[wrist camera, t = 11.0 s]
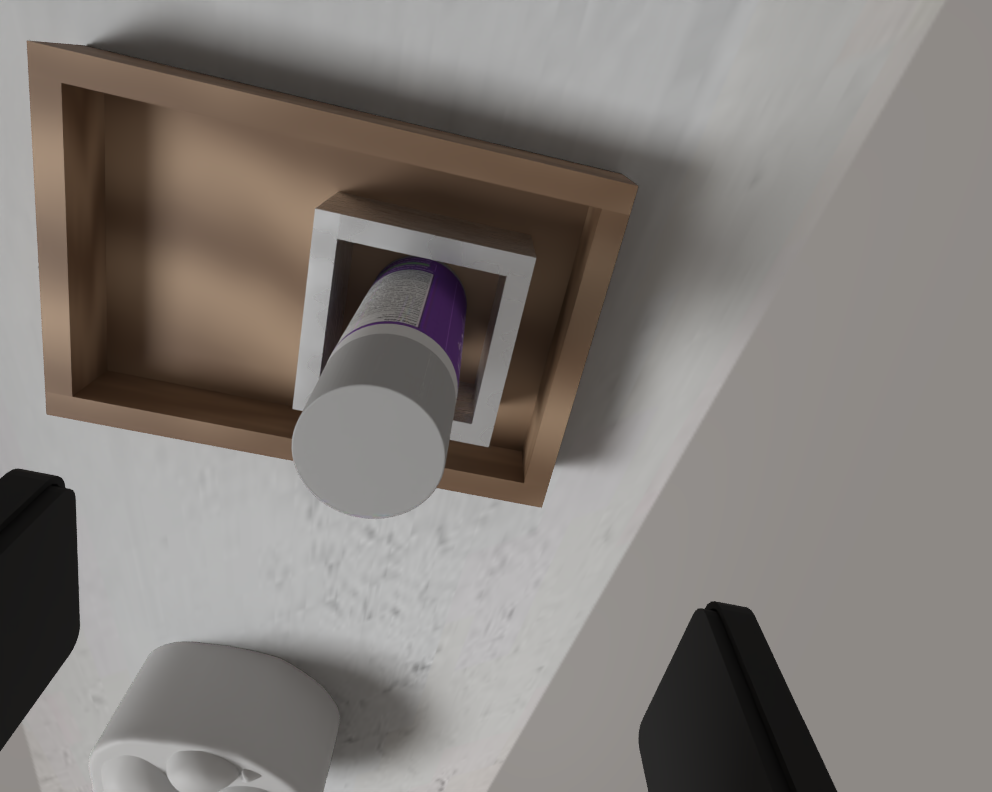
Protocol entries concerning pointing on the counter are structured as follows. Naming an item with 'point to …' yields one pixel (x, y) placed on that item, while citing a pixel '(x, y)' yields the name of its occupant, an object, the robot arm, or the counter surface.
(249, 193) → the walled tray
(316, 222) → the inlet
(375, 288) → the container
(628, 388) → the counter surface
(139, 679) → the lumpy-topped squat cylinder
